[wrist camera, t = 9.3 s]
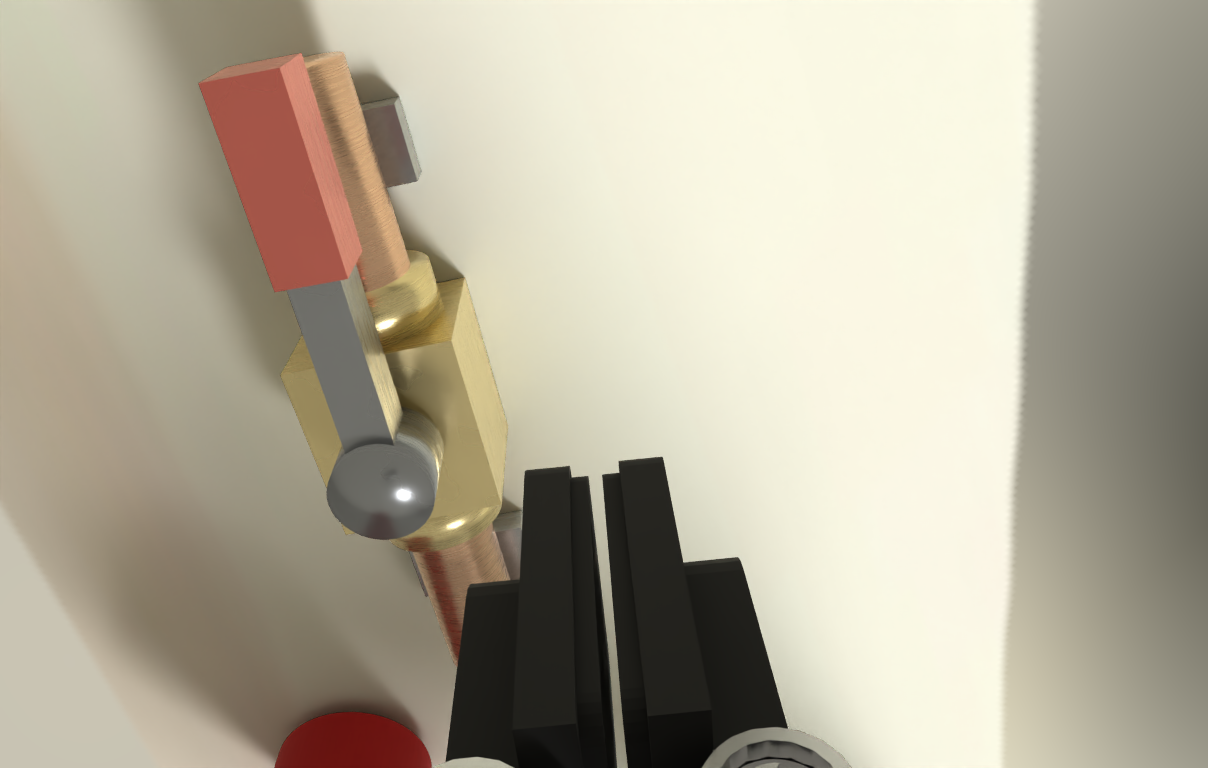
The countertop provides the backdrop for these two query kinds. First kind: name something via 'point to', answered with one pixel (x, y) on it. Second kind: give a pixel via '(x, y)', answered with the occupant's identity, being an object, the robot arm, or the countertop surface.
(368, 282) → the pipework
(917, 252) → the countertop surface
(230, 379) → the countertop surface
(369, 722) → the beverage can
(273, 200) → the lever
